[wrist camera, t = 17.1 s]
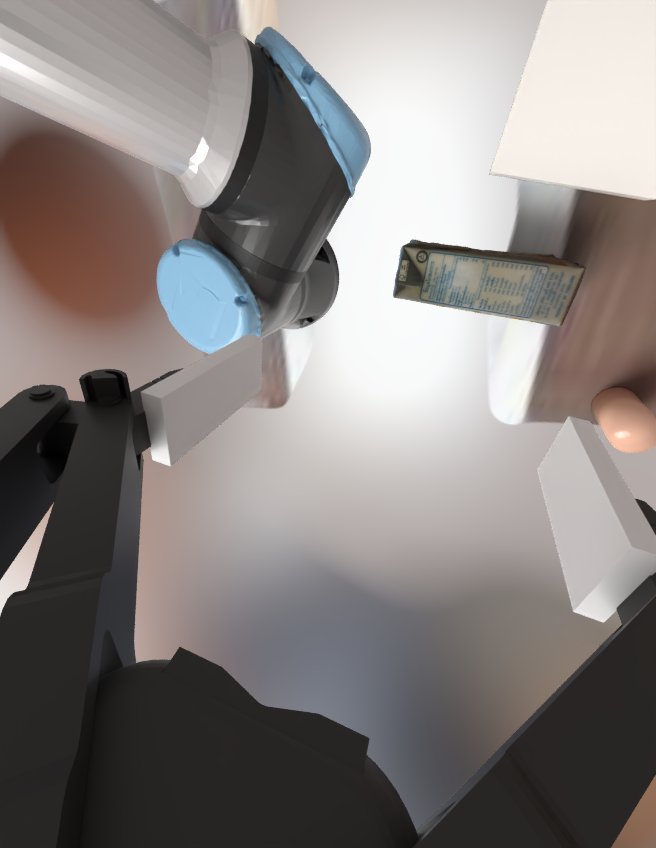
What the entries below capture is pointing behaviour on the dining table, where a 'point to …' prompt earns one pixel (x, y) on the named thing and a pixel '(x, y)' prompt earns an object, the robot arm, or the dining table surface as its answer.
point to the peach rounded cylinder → (625, 420)
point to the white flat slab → (587, 101)
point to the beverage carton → (488, 281)
